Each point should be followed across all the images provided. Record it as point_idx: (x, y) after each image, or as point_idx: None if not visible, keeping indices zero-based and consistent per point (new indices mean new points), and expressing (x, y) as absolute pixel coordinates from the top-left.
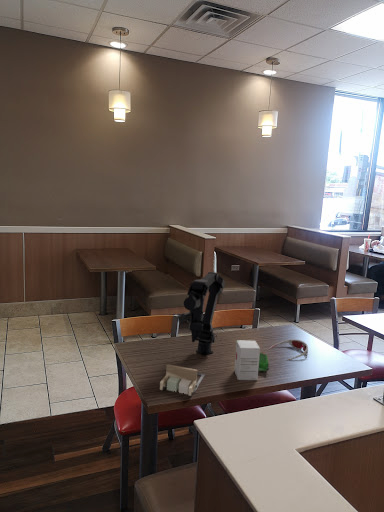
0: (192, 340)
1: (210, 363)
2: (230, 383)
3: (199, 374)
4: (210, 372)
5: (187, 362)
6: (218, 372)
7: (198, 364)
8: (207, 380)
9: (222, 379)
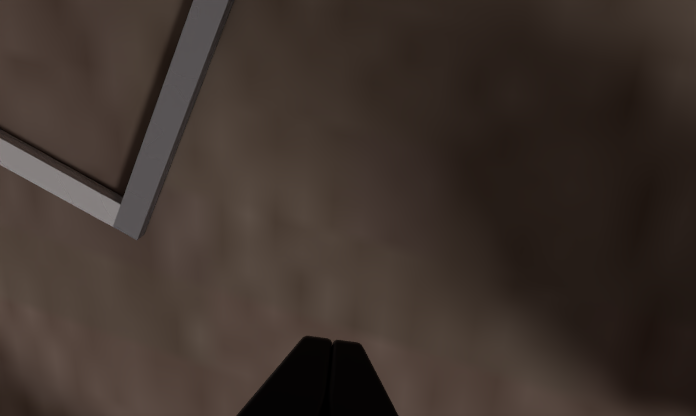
0: (283, 375)
1: (457, 391)
2: (6, 413)
3: (131, 178)
4: (217, 316)
5: (541, 101)
6: (219, 394)
7: (447, 242)
8: (33, 230)
9: (72, 376)
